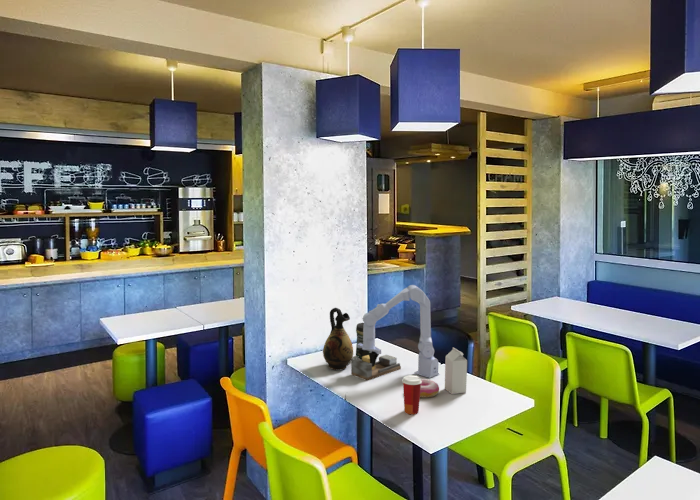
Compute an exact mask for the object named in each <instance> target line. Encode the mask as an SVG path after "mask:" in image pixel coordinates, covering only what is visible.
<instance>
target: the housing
mask: <svg viewBox="0 0 700 500" xmlns="http://www.w3.org/2000/svg"><path fill="white" fill-rule="evenodd" d="M361 360H362V361H365V362H368V363H370V357H369V355H366V356H363V357H362V359H361ZM373 369H375V366H374V367H372V370H373Z"/></svg>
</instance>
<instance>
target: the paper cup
mask: <svg viewBox="0 0 700 500" xmlns="http://www.w3.org/2000/svg"><path fill="white" fill-rule="evenodd" d="M421 379H422V378H421V377H420V376H417V375H411V374H410V375H405V376H404V377H403V378H402V380H401V382H402V384H403V406H404V407H403V408H404V410H403V411H404V413H405V414H407V415H409V416H410V415H413V416H414V415H418V414H419V408H420V400H421V397H420V387H421V383H422V381H421Z"/></svg>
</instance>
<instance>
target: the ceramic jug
mask: <svg viewBox="0 0 700 500" xmlns="http://www.w3.org/2000/svg"><path fill="white" fill-rule="evenodd" d="M335 313H336V315H337V316H336V317H335V316H334V315H335ZM350 319H351V318H350V315H349V314H348V313H347V312H344V313H343V311H341V309H340V308H338V307H333V308H331V310H330V311H329V320H330V321H329V322H330V326H331V329H330V333H329V335H328V336H327V338H326V340H325V343H324V346H323V348H322V349H323V350H322V355H323V358H324V361H325V362H326V363H327V366H328V368H329V369H330V370H333V371H343V370H346V369H347V366H348V365H349V364H350V363H351V360H352V359H353V356H354V346H353V343H352V342H353V341H352V340H351V338H350V336H349V334H348V332H347V331H346V329H345V328H344V325H343V324H344V322H347V321H349V320H350Z"/></svg>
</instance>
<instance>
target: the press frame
mask: <svg viewBox="0 0 700 500" xmlns="http://www.w3.org/2000/svg"><path fill="white" fill-rule="evenodd" d="M350 363H351V364H350V367H351V368H350V369H351V370H350V374H351V376H354V377H356V378H359V379H361V380H365V381H371V380H374V379H376V378H380V377H382V376H385V375H388V374H391V373H393V372H397V371H399V370H401V369H402V366H401V363H400V362H399V363H398V362H397V364H395V365H392V366H389V367H387V366H384V365H381V364H379V360H378V361H376V362H375V369H373V370H372V364H371V363H368V362H365V361H362V359H360V358H352V360H351V361H350Z"/></svg>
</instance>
